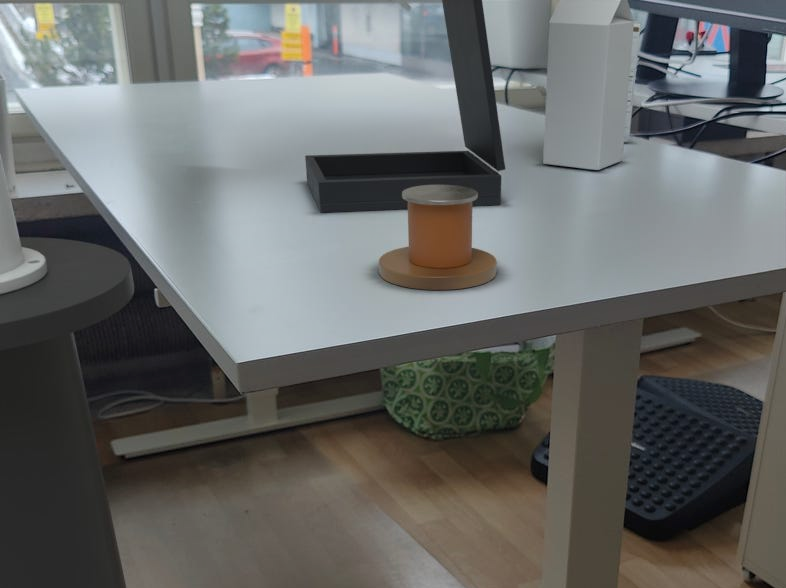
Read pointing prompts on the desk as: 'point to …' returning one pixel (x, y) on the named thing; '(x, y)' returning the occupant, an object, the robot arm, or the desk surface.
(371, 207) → the tray
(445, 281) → the coaster
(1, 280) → the robot arm
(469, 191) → the coffee pod
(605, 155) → the milk carton
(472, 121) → the holder lid
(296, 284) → the desk surface
